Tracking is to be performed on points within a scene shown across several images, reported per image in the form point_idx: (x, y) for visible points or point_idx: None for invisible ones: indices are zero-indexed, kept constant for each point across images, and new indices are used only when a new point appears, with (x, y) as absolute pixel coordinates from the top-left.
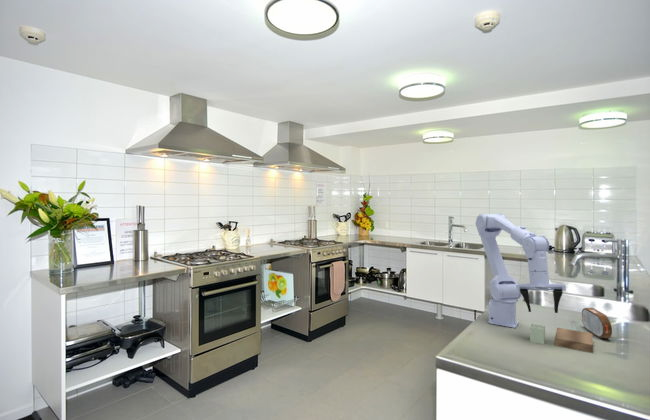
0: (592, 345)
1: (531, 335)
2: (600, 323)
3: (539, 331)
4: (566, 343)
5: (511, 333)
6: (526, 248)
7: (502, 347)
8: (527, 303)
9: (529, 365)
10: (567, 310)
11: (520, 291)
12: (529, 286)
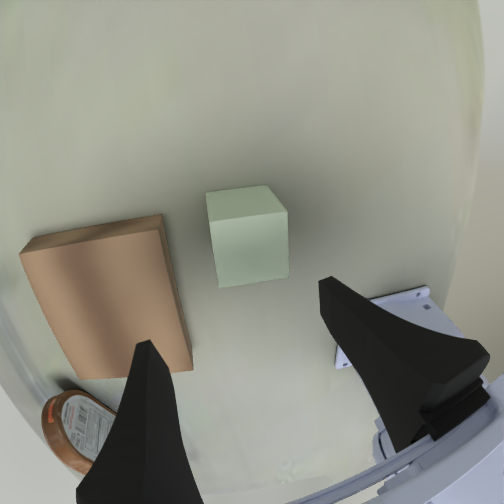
0: (20, 252)
1: (267, 195)
2: (71, 429)
3: (232, 211)
4: (111, 229)
5: (351, 236)
6: None
7: (353, 24)
8: (374, 310)
9: None
10: (227, 491)
11: (484, 367)
12: (448, 463)
